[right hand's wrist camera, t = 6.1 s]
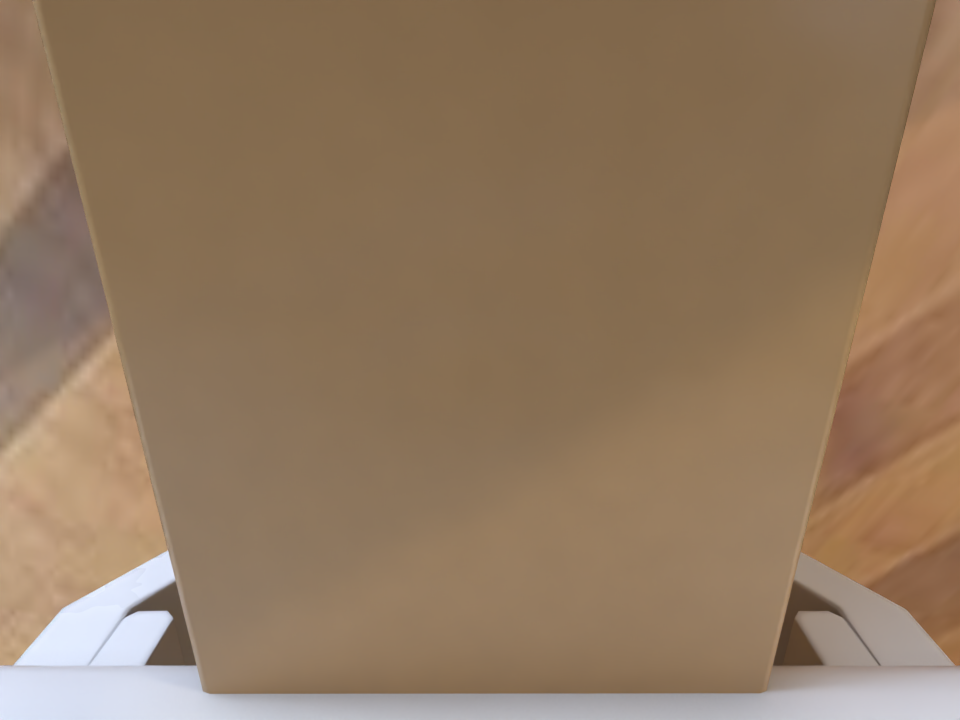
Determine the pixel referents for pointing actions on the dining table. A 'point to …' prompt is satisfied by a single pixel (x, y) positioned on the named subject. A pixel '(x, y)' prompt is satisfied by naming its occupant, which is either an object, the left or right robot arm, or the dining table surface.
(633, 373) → the bar
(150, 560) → the right robot arm
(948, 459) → the dining table surface
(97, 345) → the dining table surface
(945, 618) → the dining table surface
